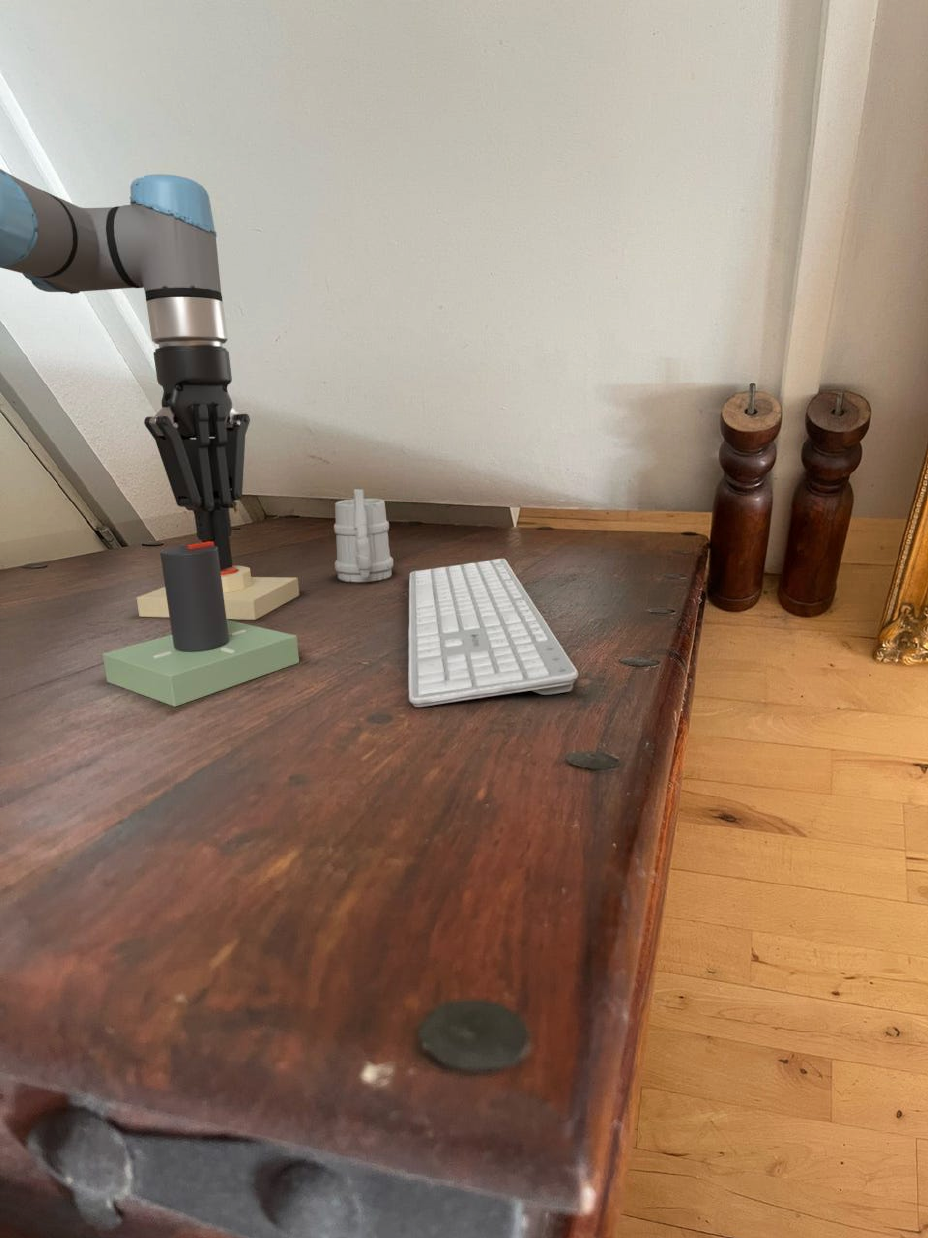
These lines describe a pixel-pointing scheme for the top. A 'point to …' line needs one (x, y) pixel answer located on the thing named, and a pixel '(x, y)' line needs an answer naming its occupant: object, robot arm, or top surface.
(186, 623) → the dial
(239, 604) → the button base
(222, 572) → the switch
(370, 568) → the mug
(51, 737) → the top surface
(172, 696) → the dial panel
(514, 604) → the keyboard
